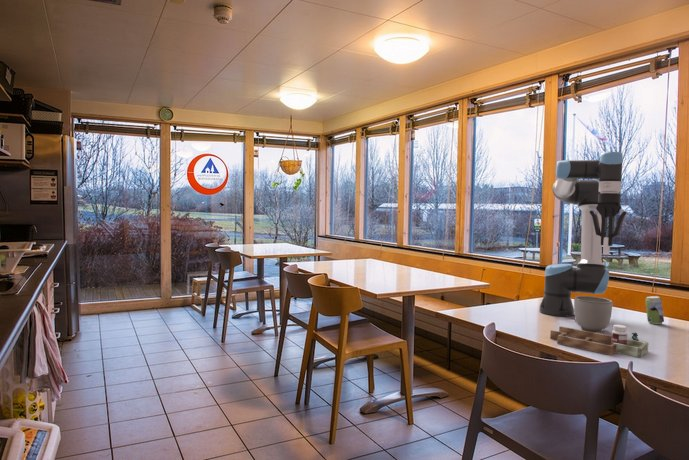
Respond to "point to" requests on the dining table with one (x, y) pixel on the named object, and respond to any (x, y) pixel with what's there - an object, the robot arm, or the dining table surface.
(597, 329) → the planter
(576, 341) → the open divided box
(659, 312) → the beverage can
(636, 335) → the sculpture
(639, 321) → the dining table surface
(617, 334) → the pill bottle
